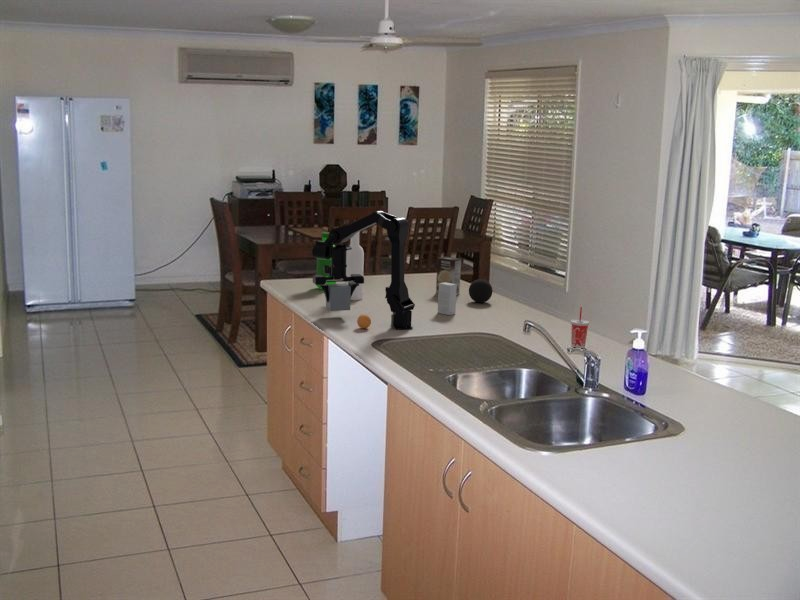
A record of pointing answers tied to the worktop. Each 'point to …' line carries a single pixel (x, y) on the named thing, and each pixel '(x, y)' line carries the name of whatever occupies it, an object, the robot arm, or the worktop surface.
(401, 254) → the robot arm
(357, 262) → the bottle
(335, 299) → the grey block
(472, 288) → the speaker
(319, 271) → the plastic bottle
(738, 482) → the worktop surface
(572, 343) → the beverage cup
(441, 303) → the skincare box
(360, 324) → the ball
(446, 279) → the coffee box
